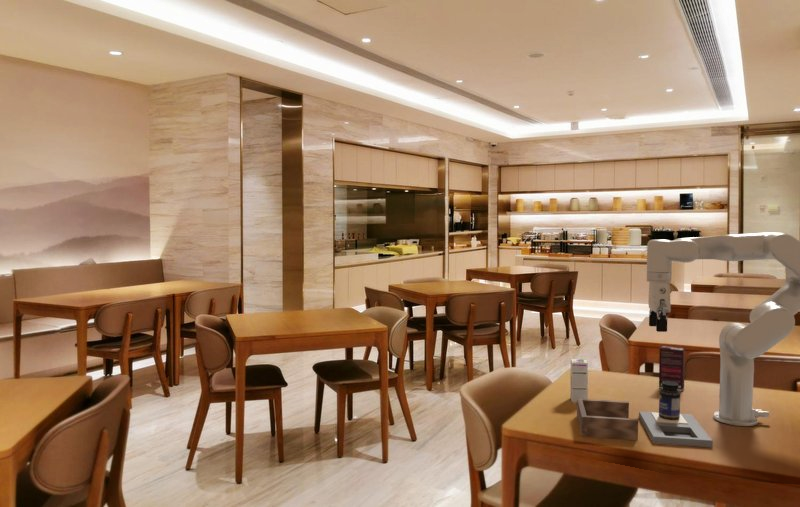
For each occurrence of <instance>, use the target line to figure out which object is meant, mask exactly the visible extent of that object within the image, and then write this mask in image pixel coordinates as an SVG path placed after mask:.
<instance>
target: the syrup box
mask: <svg viewBox="0 0 800 507" xmlns="http://www.w3.org/2000/svg"><path fill="white" fill-rule="evenodd" d="M587 361H588V360H586V359H584V358H583V359H582V358H570V402H571V403H576V404H577V399H588V398H589V390H588V389H589V386H588V385H589V383H588V382H589V378H588V377H589V375H588V373H589V371H588V369H589V368H588V367H589V366H588V362H587Z"/></svg>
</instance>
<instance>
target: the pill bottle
mask: <svg viewBox="0 0 800 507" xmlns="http://www.w3.org/2000/svg"><path fill="white" fill-rule="evenodd" d="M662 387H663V389H660V390H659V394H658V395H659V396H658V400H659V402H658V412H659V416H660V417H661V418H663V419H668V420H677V419H679V418H680V414H681V391H677V389H678V383H675V382H670V381H664V382H662Z"/></svg>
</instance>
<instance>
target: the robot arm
mask: <svg viewBox="0 0 800 507" xmlns="http://www.w3.org/2000/svg"><path fill="white" fill-rule="evenodd" d="M646 248H647V250H646V282H649V285H648V308H649V311H648V312H649V314H648V326H649V327H656V329H655V331H656V332H657V333H659V332H660V333H662V332H663V333H667V332H668V313H671V311H672V310H671V307H672V306H671V286H670V283H671V282H672V273H673V272H672V271H673V270H672V268H673V267H672V265H673V262H678V263H683V264H684V263H687V264H688V263H692V262H694V261H696V260H717V261H724V262H740V261H741V262H742V261H743V262H744V261H760V260H761V261H762V260H763V261H764V260H776V261H778V262H779V263H780V264H781V265H782V266H784V267H785V268H784V269H785V270H784V273H785V279H784V282H783V284H782V286H781V287H780V288H779V289H778V290H776V291H775V292H774V293H773V294H771V296H768V297H767V298H765V300H763V301H762V302H760V303H758V305H756V306H755V307H754V308H753V309H752V310H751V311H750V313H749V321H750V323H749V324H744V323H742V322H741V323H740V322H730V323H728V324H726V325H724V326H723V327H722V328H721V330H720V333H719V336H718V338H719V339H718V342H719V343H718V345H719V353H720V354H719V355H720V366H719V367H720V370H719V396H718V411H715V412H714V413H713V419H714V420H715V421H718V422H719V423H722V424H723V423H724V424H727V425H731V426H736V427H737V426H738V427H751V426H756V425H758V422H759V421H758V418H767V419H768V418H770V412H769V411H763V410H762V409H755V408H754V407H753V402H754V401H753V400H754V374H755V362H754V361H755V360H754V359H756V358H758V357H760V356H762V355H764V354H765V353H766V352H768V351H770V350H771V349H772V348H774V347H775V346H776V345H778V344H779V343H780V342H782V341H783V340H785V339H786V338H787V337H788V336H789V335H790V334H791V333H792V332H793V330H794V328H795V325H796V318H795V315H796V314H798V312H800V240H799V239H797V238H796V237H794V236H793V235H791V234H788V233H785V232H773V231H772V232H755V233H739V234H734V233H733V234H723V235H722V234H721V235H715V236H714V235H713V236H698V237H697V236H696V237H681V238H680V237H679V238H675V239H673V240H670V239H661V238H660V239H656V238H655V239H650V240H649V241H647V246H646Z"/></svg>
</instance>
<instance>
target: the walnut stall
mask: <svg viewBox="0 0 800 507" xmlns="http://www.w3.org/2000/svg"><path fill="white" fill-rule="evenodd" d="M629 409H630V402H629V400H627V401H623V400H607V399H594V398H593V399H592V398H591V399H590V398H589V399H577V403H576V419H577V423H578V427H579V428H578V429H579V431H580V435H581V437H584V438H599V439H600V438H601V439H611V440H613V439H614V440H625V441H627V440H629V441H638V440H639V420H638V418H632V417H630V418H629V416H630V415H629V411H630V410H629Z"/></svg>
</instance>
